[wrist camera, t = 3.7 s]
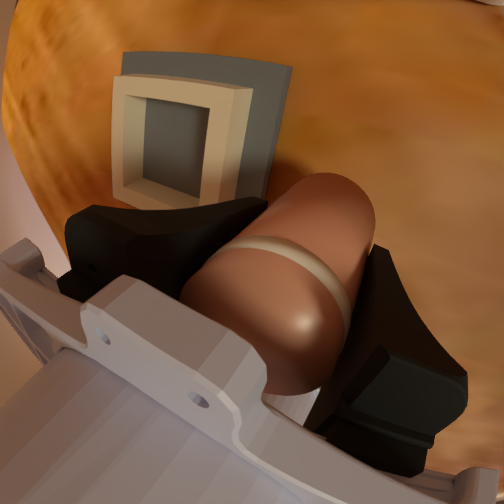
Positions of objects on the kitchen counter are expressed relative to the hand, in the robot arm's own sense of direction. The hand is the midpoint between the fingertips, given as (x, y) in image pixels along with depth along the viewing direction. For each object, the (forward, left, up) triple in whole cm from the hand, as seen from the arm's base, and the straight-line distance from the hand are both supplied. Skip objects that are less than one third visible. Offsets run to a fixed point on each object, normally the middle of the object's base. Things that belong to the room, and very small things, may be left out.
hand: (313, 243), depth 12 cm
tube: (0, 0, -2) cm, 2 cm away
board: (-5, +9, -6) cm, 12 cm away
